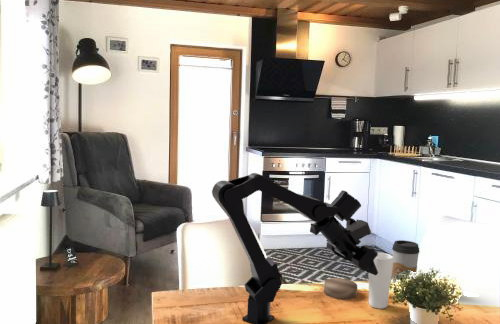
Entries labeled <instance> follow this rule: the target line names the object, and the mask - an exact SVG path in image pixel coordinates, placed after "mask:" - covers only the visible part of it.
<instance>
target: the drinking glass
mask: <svg viewBox="0 0 500 324" xmlns="http://www.w3.org/2000/svg"><path fill="white" fill-rule="evenodd" d="M376 252H377V253H378V255H377V257H376V258H375V259H374V263H375V266H376V268H377V271H378V274H377V275H373V274H371V273H368V272H367V274H368V304H369V306H370V307H372V308H374V309H378V310H379V309H380V310H381V309H382V310H383V309H387V307H388V304H389V295H390V289H391V288H390V289H389V286H390V287H391V284H392V283H391V282H392V279H393V254H389V253H386V252H380V251H379V252H378V251H376Z"/></svg>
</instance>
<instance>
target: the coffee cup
mask: <svg viewBox="0 0 500 324" xmlns="http://www.w3.org/2000/svg"><path fill="white" fill-rule="evenodd" d="M391 249H392V256H393V271H392V284H393V283H395V282H396V279H395V276H396V274H399V273H401V272H403V271H405V270H411V271H413V272H416V273H417V270H418V260H419V254H420V247H419V244H418V243H417V242H415V241H410V240H403V239H402V240H401V239H400V240H395V241H394V242H393V244H392V247H391Z"/></svg>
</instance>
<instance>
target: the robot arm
mask: <svg viewBox="0 0 500 324" xmlns="http://www.w3.org/2000/svg"><path fill="white" fill-rule="evenodd" d="M258 191H260V192H262V193H264V194H265V195H267V196H270V197H272V198H274V199H276V200H279V201H281V202H282V203H284V204H286V205H288V206H290V207H291V208H292V209H293V210H295V211H296V212H297V213H299V214H300V215H301V216H303V217H305V218H307V219H308V220H310V221H312V222H313V223H310V228H309V229H310V230H309V232H310V233H311V234H313V235H314V236H318V235H319V233H320V234H321V235H322V236H323V237H324V238H325V239H326V249H327V250H328V251H329V252H331V253H332V254H333V255H335V256H337V257H338V258H342V259H344V260H345V261H348V262H350V263H352V265H354V266H355V267H356V268H357V269H359V270H361V271H362V272H363V271H364V272H366V273H367V274H368V273H371V274H373V275H377V274H378V271H377V268H376V266H375V263H374V259H375V258H376V257H377V255H378V253H377V252H378V251H377V250H376V249H375V248H373V247H371V246H369V245H368V244H365V245H364V244H363V245H362V246H361V247H360V246H359V244H361V242H362V241H361V239H363V238H365V237H366V236H369V235H371V234H372V230H371V228H370V225H369V222H367V221H365V220H361V219H354V218H353V216H354V215H355V214H356V213H357V211H358V210H359V209H360V208H361V207H362V203H360V201H359V199H356V198H355V197H354V196H353V195H351V194H350V193H349V192H348V191H347V190H341V191H340V192H339V194H338V195H337V197H335V198H334V199H333V200H332V202H331V203H328V202H325V201H322V200H319V199H317V198H314V197H311V196H308V195H305V194H300V193H296V192H294V191H292V190H291V189H289V188H286V187H284V186H283V185H281V184H278V183H277V182H274V181H272V180H270V179H268V178H267V177H265V176H264V175H262V174H259V173H256V172H253V173H251V174H248V175H244V176H242V177H236V178H233V179H230V180H228V181H227V180H219V181H217V182H216V183H214V185H213V187H212V189H211V194H212V197H213V198H214V200H215V202H216V203H217V204H218V205H219V207H220V208H221V209H222V211H223V212H224V213H225V214H226V216H227V217H228V219H229V222H230V223H231V225H232V228H233V229H234V232H235V234H236V236H237V237H238V240H239V242H240V243H241V246H242V248H243V250H244V252H245V255H246V256H247V259H248V262H249V265H250V272H251V277H250V278H249V280H247V281H246V282H245V284H244V285H243V286H244V289H245V292H246V293H248V298H247V312H246V313H247V314H246V315H244V316H242V321H246V322H248V323H251V324H268V323H270V322H272V320H274V319H276V318H275V315H273V314H271V303H273V302H274V300H275V298H276V296H277V293H278V292H279V290H280V289H281V286H282V283H283V282H282V278H283V275H282V274H281V273H280V271H279V268H278V265H277V263H276V262H275V261H274V260H273V259H271V258H270V257H268V256H267V257H266V256H265V255H264V253H263V250H262V248H261V246H260V244H259V242H258V239H257V237H256V235H255V233H254V231H253V228H252V226H251V225H250V222H249V220H248V218H247V216H246V213H245V209H244V206H245V205H244V200H243V199H246V198H247V197H250V196H251V195H253V194H254V193H256V192H258ZM344 221H345V222H346V225H345V226H346V227H344V225H343V224H342V223H341V222H344Z"/></svg>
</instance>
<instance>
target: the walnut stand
mask: <svg viewBox="0 0 500 324" xmlns="http://www.w3.org/2000/svg"><path fill="white" fill-rule="evenodd" d="M323 285H324V286H323V294H325V295H326V297H327V296H328V297H329V298H332V299H336V300H345V301H346V300H352V299H354V298H356V297H357V294H358V284H357V283H356V281H355V282H354V281H352V280H350V279H347V278H342V277H341V278H340V277H333V278H332V277H331V278H327V279H326V280H324V283H323Z"/></svg>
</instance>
